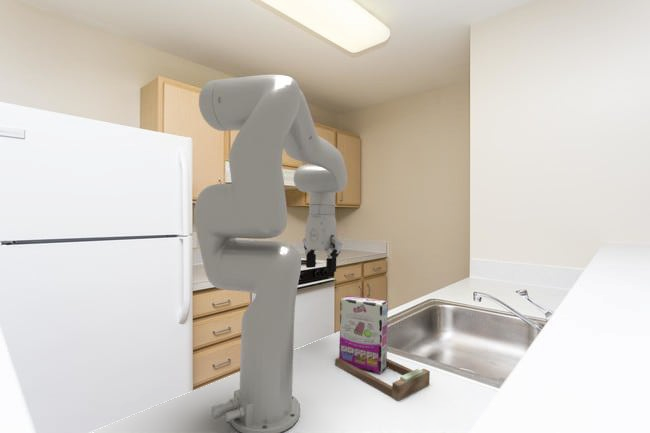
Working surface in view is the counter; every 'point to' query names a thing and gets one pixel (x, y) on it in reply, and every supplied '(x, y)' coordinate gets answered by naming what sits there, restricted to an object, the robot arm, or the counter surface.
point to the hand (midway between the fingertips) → (320, 269)
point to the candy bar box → (364, 333)
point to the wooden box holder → (400, 388)
